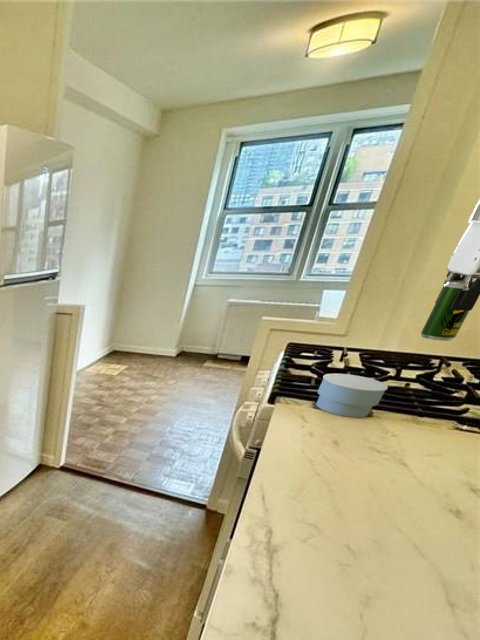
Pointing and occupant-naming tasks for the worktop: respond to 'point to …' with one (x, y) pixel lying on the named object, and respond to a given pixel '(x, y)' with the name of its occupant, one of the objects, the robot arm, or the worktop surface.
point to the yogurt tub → (349, 394)
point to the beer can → (445, 314)
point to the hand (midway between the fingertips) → (452, 306)
